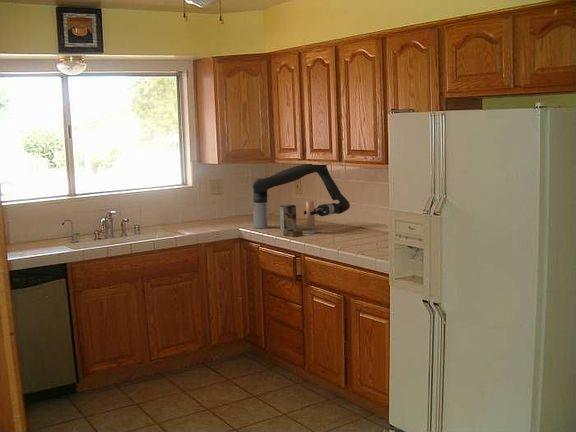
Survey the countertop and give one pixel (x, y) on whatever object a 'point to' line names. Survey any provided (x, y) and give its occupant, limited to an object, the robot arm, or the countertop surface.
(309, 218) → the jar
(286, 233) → the collar
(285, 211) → the coffee box
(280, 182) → the robot arm
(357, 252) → the countertop surface
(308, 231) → the mat
